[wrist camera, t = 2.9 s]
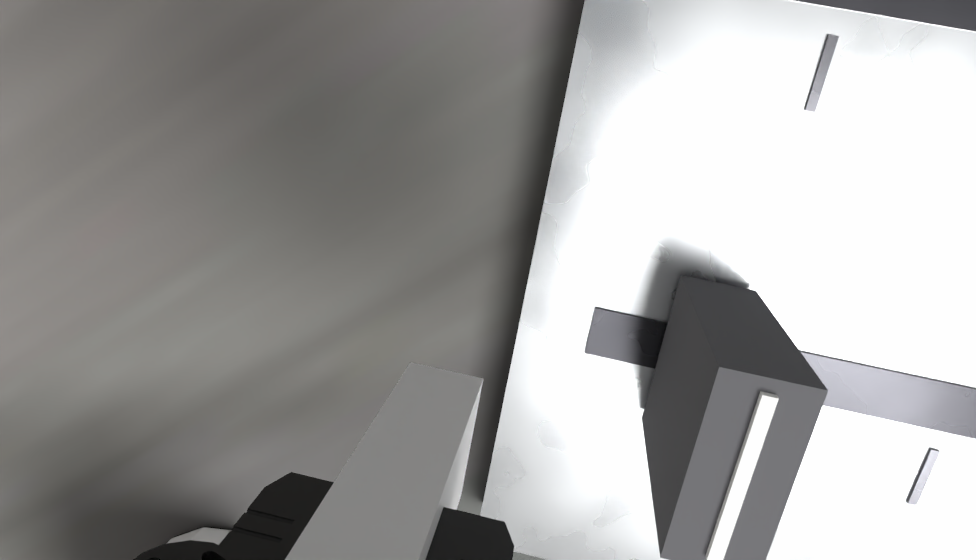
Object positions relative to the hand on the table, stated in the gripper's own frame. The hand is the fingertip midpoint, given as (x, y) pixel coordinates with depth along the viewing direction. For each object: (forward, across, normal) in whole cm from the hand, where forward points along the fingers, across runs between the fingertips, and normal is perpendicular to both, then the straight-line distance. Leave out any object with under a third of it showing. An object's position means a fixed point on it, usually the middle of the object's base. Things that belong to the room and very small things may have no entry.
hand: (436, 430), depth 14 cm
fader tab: (+6, +6, 0) cm, 9 cm away
